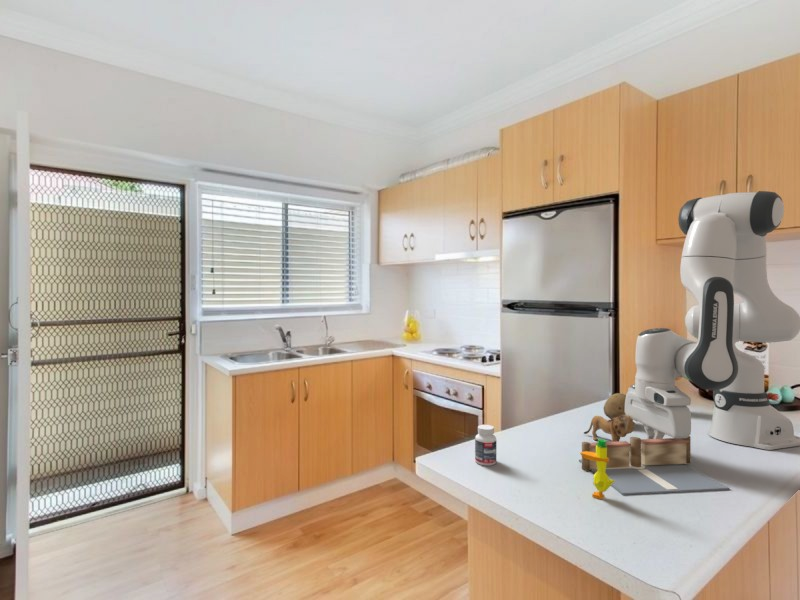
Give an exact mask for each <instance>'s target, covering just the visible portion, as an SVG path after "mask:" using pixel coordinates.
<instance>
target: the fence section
mask: <svg viewBox="0 0 800 600" xmlns="http://www.w3.org/2000/svg"><path fill="white" fill-rule="evenodd" d="M641 439H642V438H640V437H637V436H636V437H635V436H630V437H629V442H628V441H626V440H625V441H623V440H622V441H620V440H619V442H612V441H606V444H605V445H607V457H608V458H609V462H607V464H606V468H616V467H630V465H631V466H633V467H641ZM596 443H598V441H597V442H596V441H595V442H589V441H582V442H581V452H584V451H588V452H594V453H596ZM581 459H582V463H581V470H582V471H585V472H590V471H591V470H590V469H596V468H597V462H596V461H592V460H588V459H585V458H583V456H582V455H581Z"/></svg>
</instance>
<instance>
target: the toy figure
mask: <svg viewBox="0 0 800 600" xmlns="http://www.w3.org/2000/svg"><path fill="white" fill-rule="evenodd" d="M597 442H598V443H596V453H594V452H588V451H584V452H582V451H580V452H579V453H580V455H581V457H582V456H583V458H585V459H588V460H592V461H596V462H597V470H598V471H597V472H596V473H594V474H593V486H594V487H595V489H596V490H597V491H593V493H592V494H591V496H592V498H595V499H599V500H604V498H605V494H604V493H605V492H606V491H607V490H608V489H609V488H610V487H611V484H612V483H613V482H614V481H615V480H611V479H609V477H608V476H607V474H606V473H605V471H606V464H607V462H609V458H608V457H607V445H605V444H606V442H607V440H605V439H602V438H598V441H597Z"/></svg>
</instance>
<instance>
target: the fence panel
mask: <svg viewBox="0 0 800 600" xmlns="http://www.w3.org/2000/svg"><path fill="white" fill-rule="evenodd" d="M640 439H641V463H642V464H644V465H666V464H686V465H690V464H691V436H689V437H688V438H680V439H676V438H673V437H672V438H671V437H669V438H662V439H647V438H646V439H645V438H644V439H642V438H640Z"/></svg>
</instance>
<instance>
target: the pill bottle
mask: <svg viewBox="0 0 800 600" xmlns="http://www.w3.org/2000/svg"><path fill="white" fill-rule="evenodd" d="M494 434H495V427H494V426H493V425H491V424H480V425H478V426H477V434H476V435H475V438H474V439H475V440H474V461H475V462H476V463H477V464H478V465H481V466H487V467H488V466H489V467H490V466H493V465H495V464H497V437H496V436H495V435H494Z"/></svg>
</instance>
